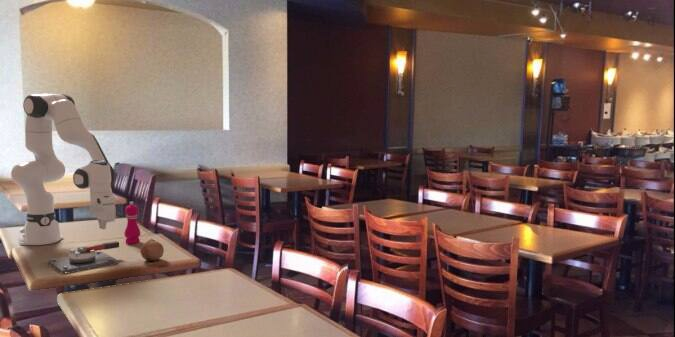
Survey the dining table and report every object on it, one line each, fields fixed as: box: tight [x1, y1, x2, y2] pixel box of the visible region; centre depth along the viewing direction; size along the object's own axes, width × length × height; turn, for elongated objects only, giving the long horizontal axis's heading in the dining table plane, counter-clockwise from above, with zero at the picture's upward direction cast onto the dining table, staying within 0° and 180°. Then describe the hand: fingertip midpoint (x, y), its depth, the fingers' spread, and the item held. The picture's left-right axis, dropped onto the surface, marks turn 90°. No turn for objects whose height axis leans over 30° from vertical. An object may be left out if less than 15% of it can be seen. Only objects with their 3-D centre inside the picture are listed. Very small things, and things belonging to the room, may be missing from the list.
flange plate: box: [47, 250, 119, 274], centre depth 234 cm, size 18×22×2 cm
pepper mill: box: [123, 201, 141, 245], centre depth 268 cm, size 7×7×20 cm
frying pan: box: [68, 241, 120, 263], centre depth 237 cm, size 20×10×5 cm, turn 133°
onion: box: [140, 238, 165, 262], centre depth 240 cm, size 10×9×10 cm
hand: (102, 228), depth 245 cm, fingers closed
